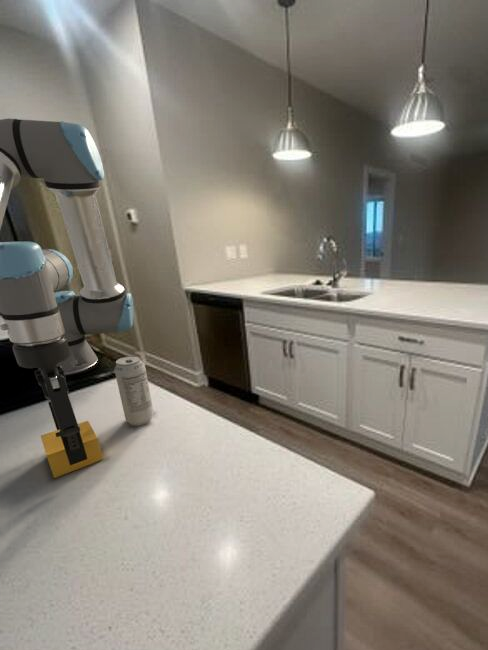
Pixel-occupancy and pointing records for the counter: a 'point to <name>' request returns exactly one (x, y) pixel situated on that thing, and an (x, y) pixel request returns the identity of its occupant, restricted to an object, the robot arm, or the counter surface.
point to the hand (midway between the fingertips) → (71, 443)
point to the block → (58, 453)
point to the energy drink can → (134, 390)
